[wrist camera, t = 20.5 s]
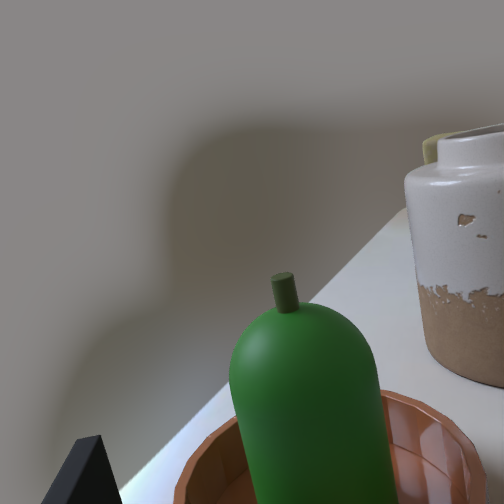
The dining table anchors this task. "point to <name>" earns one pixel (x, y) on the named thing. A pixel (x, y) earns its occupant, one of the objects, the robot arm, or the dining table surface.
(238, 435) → the orange bowl
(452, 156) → the vase
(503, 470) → the dining table surface
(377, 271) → the dining table surface
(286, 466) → the green pepper
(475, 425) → the dining table surface
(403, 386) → the dining table surface
